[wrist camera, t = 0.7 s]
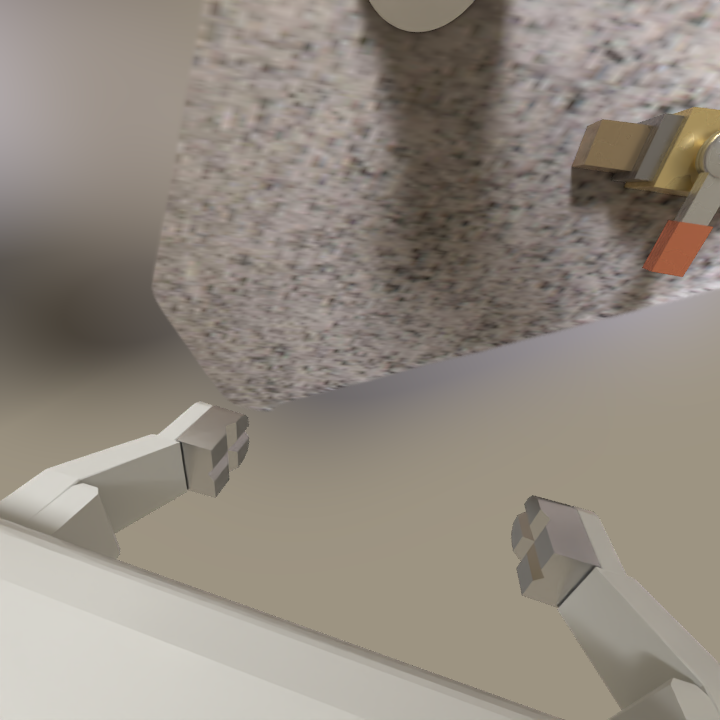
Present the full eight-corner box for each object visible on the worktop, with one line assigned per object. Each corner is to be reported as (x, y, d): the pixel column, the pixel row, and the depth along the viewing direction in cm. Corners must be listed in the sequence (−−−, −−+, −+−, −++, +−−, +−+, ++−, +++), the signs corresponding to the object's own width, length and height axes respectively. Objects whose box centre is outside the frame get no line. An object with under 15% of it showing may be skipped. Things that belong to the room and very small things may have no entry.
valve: (566, 178, 38) (589, 176, 32) (592, 112, 35) (622, 96, 29) (756, 207, 35) (818, 210, 29) (802, 138, 32) (880, 126, 26)
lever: (713, 122, 28) (735, 117, 26) (766, 129, 28) (792, 124, 26) (635, 266, 34) (648, 271, 32) (677, 274, 34) (693, 279, 31)
